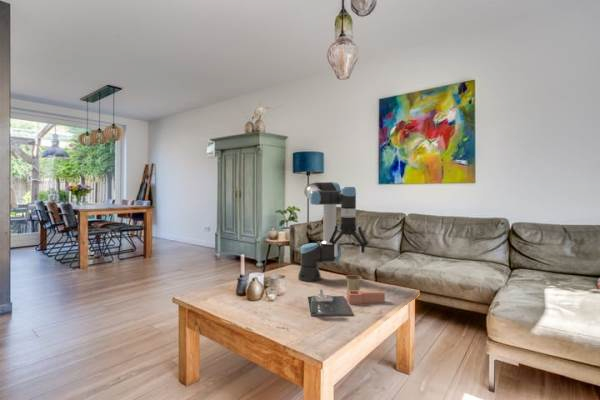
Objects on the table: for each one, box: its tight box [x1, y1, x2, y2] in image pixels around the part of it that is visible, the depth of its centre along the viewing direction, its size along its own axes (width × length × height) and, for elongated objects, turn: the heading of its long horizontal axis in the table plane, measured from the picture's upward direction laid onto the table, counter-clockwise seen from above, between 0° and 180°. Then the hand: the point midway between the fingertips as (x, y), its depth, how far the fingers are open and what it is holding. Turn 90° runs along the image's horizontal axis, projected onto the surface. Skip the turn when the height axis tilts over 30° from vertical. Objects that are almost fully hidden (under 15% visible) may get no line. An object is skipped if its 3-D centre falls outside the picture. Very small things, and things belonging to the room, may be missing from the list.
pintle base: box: [307, 288, 354, 317], centre depth 159 cm, size 24×20×8 cm
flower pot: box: [345, 274, 363, 291], centre depth 181 cm, size 9×9×9 cm
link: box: [346, 289, 386, 305], centre depth 166 cm, size 19×7×5 cm, turn 92°
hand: (348, 257), depth 160 cm, fingers open, 13 cm apart
